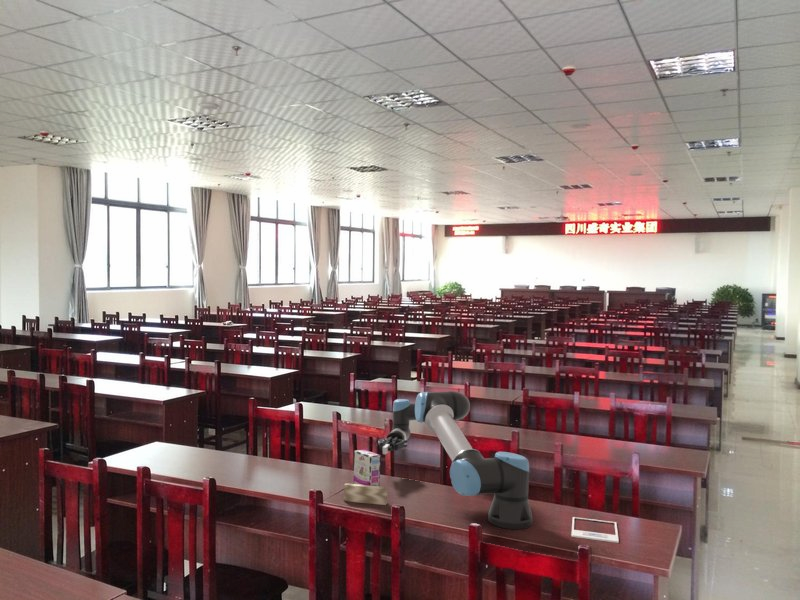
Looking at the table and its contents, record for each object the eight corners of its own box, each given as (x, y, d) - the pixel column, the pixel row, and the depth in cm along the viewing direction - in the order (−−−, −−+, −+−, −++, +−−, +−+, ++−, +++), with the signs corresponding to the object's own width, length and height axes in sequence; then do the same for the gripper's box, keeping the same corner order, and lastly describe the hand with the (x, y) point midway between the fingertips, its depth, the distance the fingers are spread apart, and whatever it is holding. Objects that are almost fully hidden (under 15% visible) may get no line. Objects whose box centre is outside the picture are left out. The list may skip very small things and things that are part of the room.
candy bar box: (380, 498, 239) (381, 454, 239) (369, 500, 236) (370, 456, 236) (363, 490, 248) (364, 448, 248) (352, 492, 245) (353, 450, 244)
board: (386, 503, 233) (387, 487, 233) (385, 505, 231) (386, 488, 231) (345, 499, 236) (345, 483, 236) (343, 500, 234) (344, 484, 234)
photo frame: (571, 534, 206) (572, 516, 223) (571, 537, 206) (572, 519, 223) (618, 540, 202) (616, 521, 219) (618, 544, 202) (616, 524, 219)
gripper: (410, 448, 275) (400, 461, 252) (381, 446, 278) (368, 459, 255) (411, 431, 275) (400, 442, 252) (381, 429, 278) (368, 440, 255)
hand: (384, 450), depth 254 cm, fingers closed
